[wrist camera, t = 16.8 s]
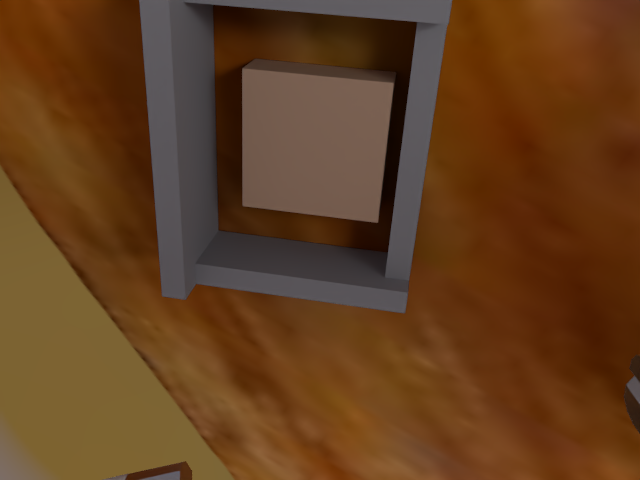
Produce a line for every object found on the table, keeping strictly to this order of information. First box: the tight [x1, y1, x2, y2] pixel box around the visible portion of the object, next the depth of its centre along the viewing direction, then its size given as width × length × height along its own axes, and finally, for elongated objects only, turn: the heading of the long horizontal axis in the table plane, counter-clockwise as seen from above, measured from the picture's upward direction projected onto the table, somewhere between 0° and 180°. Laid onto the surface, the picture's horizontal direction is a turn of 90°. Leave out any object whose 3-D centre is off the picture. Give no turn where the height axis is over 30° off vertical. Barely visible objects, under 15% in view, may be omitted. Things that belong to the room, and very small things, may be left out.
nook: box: [139, 0, 452, 313], centre depth 37 cm, size 16×20×7 cm
